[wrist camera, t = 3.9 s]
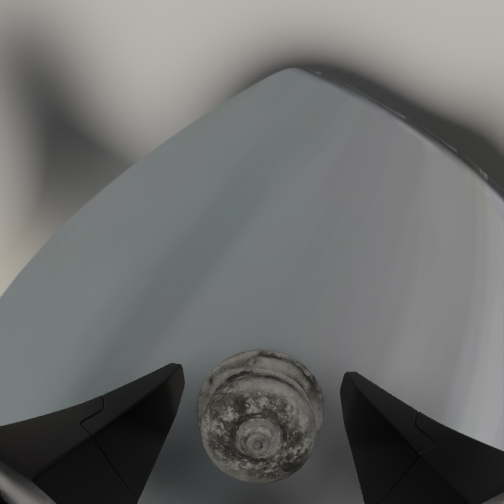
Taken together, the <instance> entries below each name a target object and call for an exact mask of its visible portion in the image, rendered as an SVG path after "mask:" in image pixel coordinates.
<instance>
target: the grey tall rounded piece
mask: <svg viewBox="0 0 504 504" xmlns="http://www.w3.org/2000/svg"><path fill="white" fill-rule="evenodd" d="M323 412H324V403H323V398H322V392H321V389H320V387H319V385H318V383H317V381H316V379H315V377H314V376H313V375H312V374H311V373H310V372H309V371H308V369H307V368H306V367H305V366H304V365H303V364H301V363H299V362H298V361H296V360H295V359H293V358H292V357H290V356H287V355H284V354H281V353H278V352H275V351H266V350H254V351H248V352H242V353H239V354H237V355H235V356H232V357H230V358H228V359H226V360H225V361H223V362H222V363H221V364H219V365H218V366H217V367H215V368H214V369H213V370H212V372H211V373H210V374H209V376H208V377H207V378H206V379H205V381H204V383H203V385H202V388H201V390H200V392H199V395H198V402H197V417H198V423H199V427H200V429H201V436H202V441H203V446H204V448H205V450H206V452H207V454H208V456H209V458H210V459H211V460H212V461H213V463H214V464H215V465H216V466H217V467H218V468H219V469H220V470H221V471H223V472H224V473H226V474H228V475H229V476H231V477H232V478H235V479H238V480H241V481H244V482H249V483H259V484H262V483H270V482H276V481H279V480H281V479H283V478H286V477H288V476H290V475H292V474H293V473H294V472H296V471H297V470H298V469H300V468H301V467H302V466H303V464H304V463H305V462H306V461H307V459H308V458H309V457H310V454H311V452H312V450H313V447H314V445H315V441H316V436H317V434H318V432H319V429H320V427H321V424H322V422H323Z"/></svg>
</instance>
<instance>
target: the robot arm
mask: <svg viewBox="0 0 504 504" xmlns="http://www.w3.org/2000/svg"><path fill="white" fill-rule="evenodd" d="M184 384H185V380H184V374H183V368H182V365H181V364H176V363H170V364H168V365H166V366H164V367H162V368H160V369H158V370H156V371H154V372H152V373H150V374H148V375H146V376H143V377H141V378H139V379H137V380H135V381H133V382H131V383H128V384H126V385H124V386H122V387H120V388H118V389H115V390H113V391H111V392H109V393H106V394H104V395H103V396H102V395H101V396H99V397H96V398H94V399H92V400H89V401H87V402H84V403H82V404H79V405H76V406H73V407H70V408H66V409H63V410H60V411H56V412H53V413H50V414H46V415H43V416H39V417H35V418H32V419H28V420H24V421H20V422H16V423H12V424H8V425H4V426H0V504H137V502H138V500H139V498H140V496H141V493H142V491H143V489H144V487H145V484H146V482H147V480H148V478H149V475H150V473H151V471H152V468H153V466H154V464H155V462H156V459H157V457H158V455H159V453H160V450H161V448H162V446H163V444H164V441H165V439H166V437H167V435H168V432H169V430H170V428H171V426H172V424H173V421H174V419H175V416H176V414H177V410H178V407H179V403H180V400H181V396H182V393H183V389H184ZM340 396H341V403H342V411H343V419H344V425H345V429H346V433H347V436H348V440H349V444H350V447H351V451H352V455H353V459H354V463H355V466H356V470H357V474H358V478H359V482H360V486H361V490H362V494H363V499H364V503H365V504H504V451H502V450H499V449H497V448H494V447H492V446H489V445H487V444H485V443H482V442H480V441H478V440H475V439H473V438H471V437H468V436H466V435H464V434H462V433H459V432H457V431H455V430H453V429H451V428H449V427H446V426H444V425H442V424H440V423H438V422H436V421H435V420H433V419H431V418H429V417H427V416H426V415H424V414H422V413H421V412H418V411H417V410H415V409H414V408H412V407H410V406H409V405H407V404H406V403H404V402H402V401H401V400H399V399H398V398H396V397H394V396H393V395H391V394H390V393H388V392H386V391H385V390H383V389H382V388H380V387H379V386H377V385H375V384H374V383H372V382H371V381H369V380H368V379H366V378H365V377H363V376H362V375H360V374H358V373H357V372H346V373H345V374H344V377H343V381H342V385H341V389H340Z"/></svg>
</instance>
